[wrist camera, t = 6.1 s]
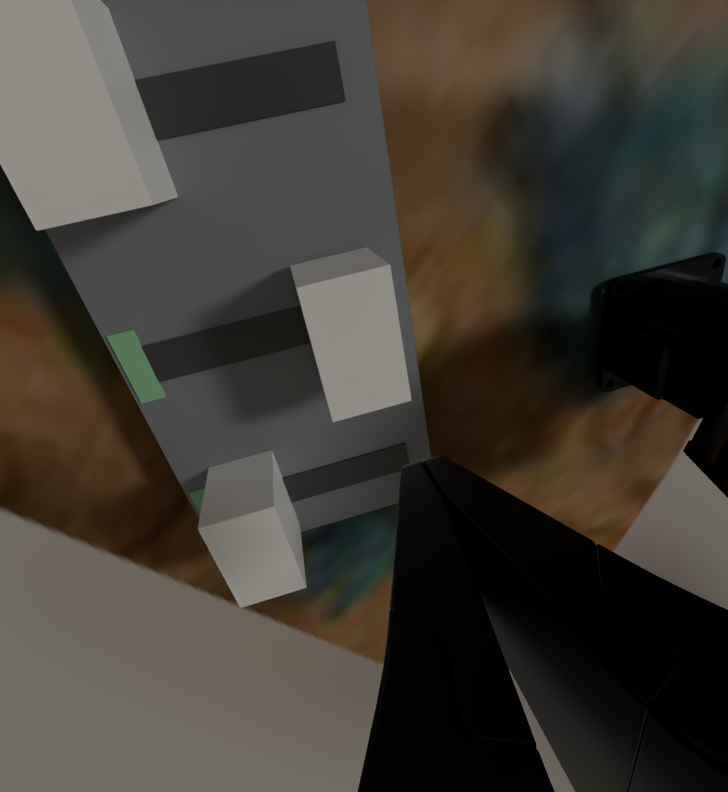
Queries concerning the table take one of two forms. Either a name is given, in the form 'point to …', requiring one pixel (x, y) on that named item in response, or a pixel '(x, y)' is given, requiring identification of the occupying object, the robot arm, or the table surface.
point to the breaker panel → (218, 242)
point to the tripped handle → (354, 331)
